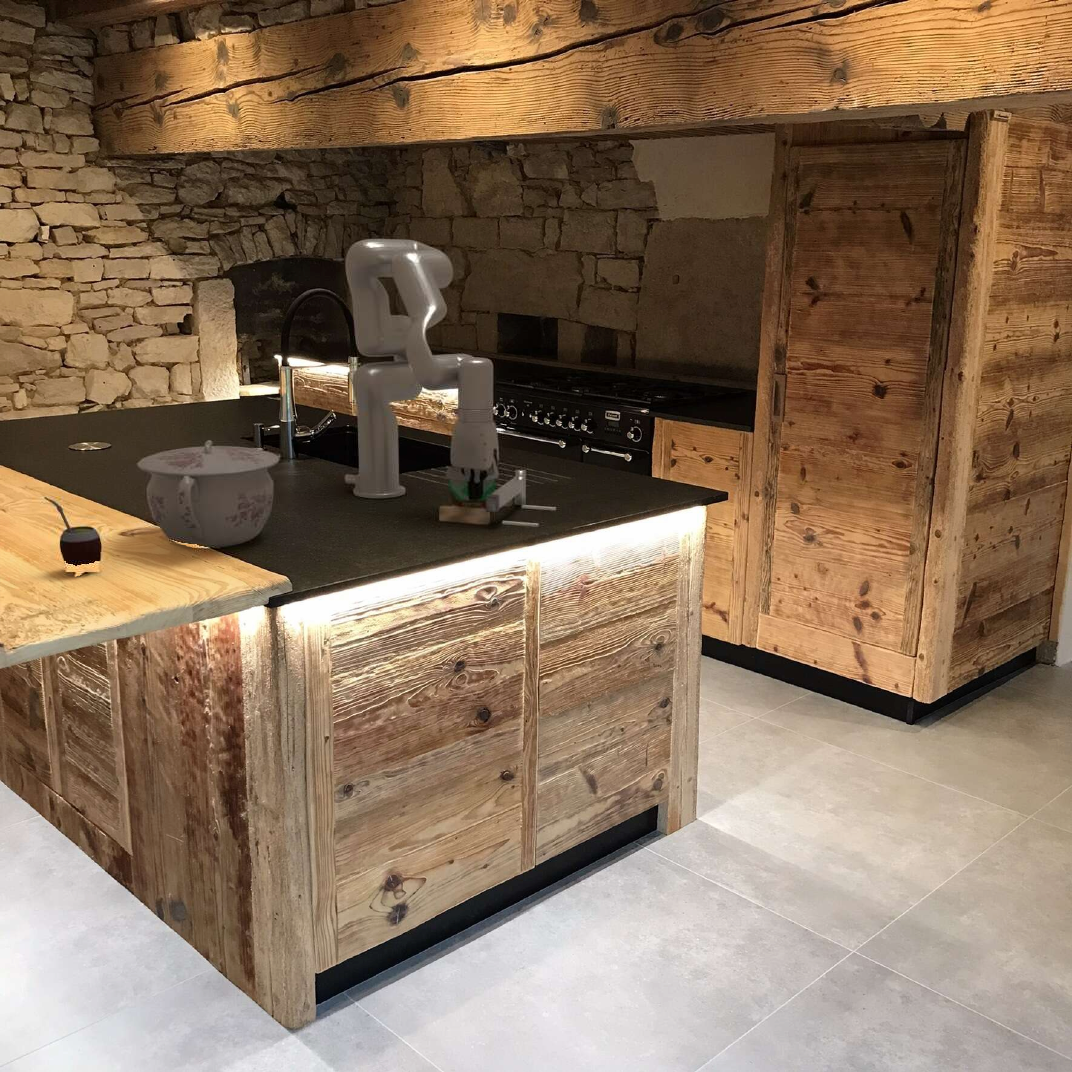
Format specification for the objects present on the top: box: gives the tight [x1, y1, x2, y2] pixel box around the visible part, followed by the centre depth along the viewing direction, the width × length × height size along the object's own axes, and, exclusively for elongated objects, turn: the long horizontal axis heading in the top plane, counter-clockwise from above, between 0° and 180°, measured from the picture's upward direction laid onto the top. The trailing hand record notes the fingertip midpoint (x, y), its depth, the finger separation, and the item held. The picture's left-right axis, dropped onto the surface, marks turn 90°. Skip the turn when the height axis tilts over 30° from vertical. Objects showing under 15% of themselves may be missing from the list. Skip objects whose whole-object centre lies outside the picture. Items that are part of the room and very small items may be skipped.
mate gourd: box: [44, 496, 103, 566], centre depth 198 cm, size 8×8×15 cm
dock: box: [438, 490, 513, 526], centre depth 249 cm, size 11×20×3 cm, turn 165°
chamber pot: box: [136, 439, 281, 547], centre depth 220 cm, size 28×28×21 cm
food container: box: [445, 467, 500, 509], centre depth 248 cm, size 12×6×10 cm, turn 105°
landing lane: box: [501, 504, 557, 528], centre depth 246 cm, size 8×17×1 cm, turn 165°
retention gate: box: [486, 469, 527, 513], centre depth 245 cm, size 2×25×8 cm, turn 165°
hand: (475, 498), depth 239 cm, fingers closed
